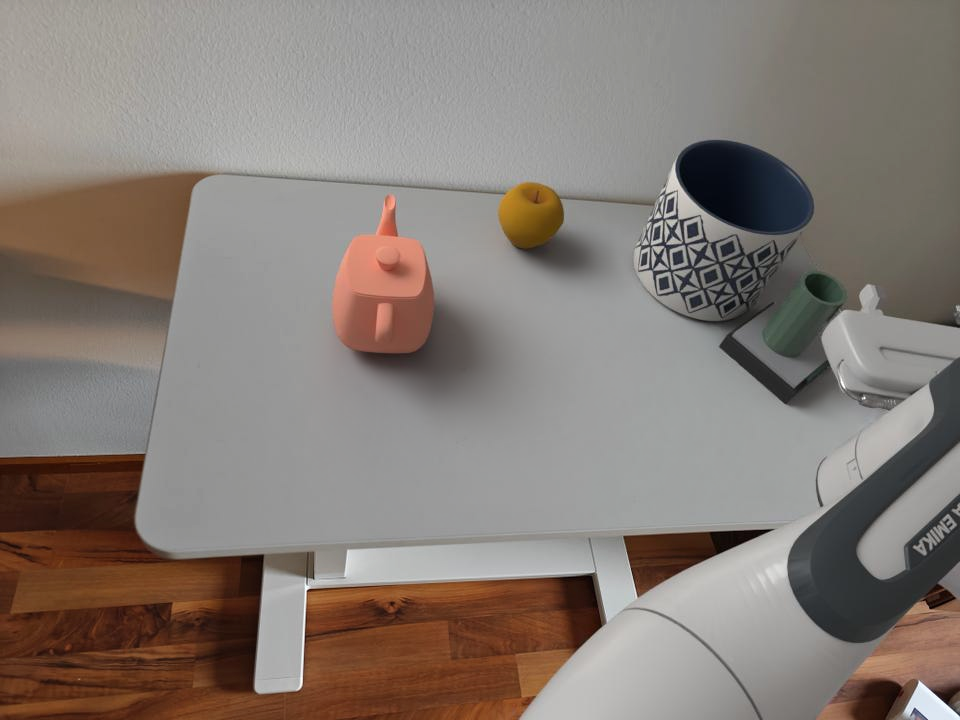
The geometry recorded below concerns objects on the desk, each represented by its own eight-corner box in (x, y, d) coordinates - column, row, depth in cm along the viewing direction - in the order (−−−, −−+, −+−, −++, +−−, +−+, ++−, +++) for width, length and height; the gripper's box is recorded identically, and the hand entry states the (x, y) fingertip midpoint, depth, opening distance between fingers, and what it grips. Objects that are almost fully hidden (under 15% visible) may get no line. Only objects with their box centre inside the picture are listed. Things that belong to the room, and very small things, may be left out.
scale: (829, 365, 97) (843, 351, 95) (785, 404, 92) (798, 389, 89) (764, 312, 101) (776, 297, 99) (718, 346, 96) (729, 331, 93)
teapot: (431, 388, 84) (444, 321, 75) (327, 383, 82) (326, 314, 73) (428, 264, 96) (439, 193, 87) (337, 257, 94) (338, 184, 85)
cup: (804, 362, 92) (849, 310, 85) (762, 350, 92) (802, 297, 85) (802, 330, 96) (845, 278, 88) (761, 318, 96) (800, 265, 88)
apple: (549, 271, 99) (565, 222, 92) (485, 254, 99) (497, 203, 92) (558, 229, 105) (575, 180, 98) (499, 212, 105) (511, 162, 98)
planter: (622, 225, 108) (662, 131, 95) (736, 237, 111) (790, 147, 98) (643, 319, 97) (692, 227, 84) (769, 329, 100) (835, 241, 87)
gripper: (825, 422, 63) (796, 301, 71) (1046, 456, 64) (993, 334, 72) (867, 381, 58) (831, 256, 66) (1106, 419, 59) (1041, 292, 67)
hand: (917, 297), depth 69 cm, fingers open, 8 cm apart
